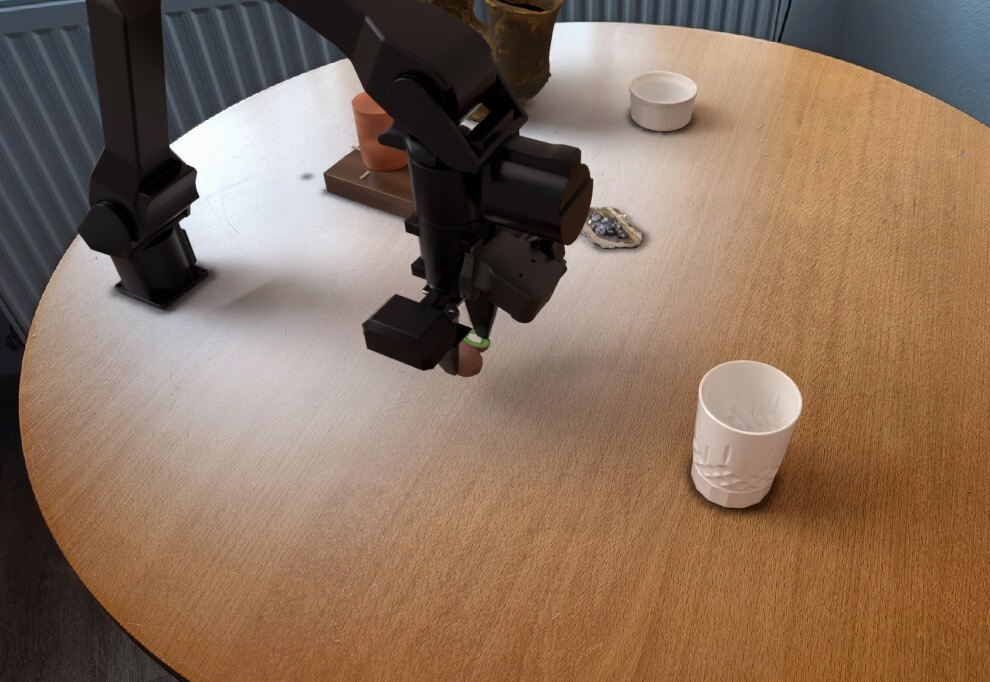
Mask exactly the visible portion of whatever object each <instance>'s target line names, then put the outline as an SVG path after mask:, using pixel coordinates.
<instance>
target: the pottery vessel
mask: <svg viewBox="0 0 990 682" xmlns="http://www.w3.org/2000/svg"><path fill="white" fill-rule="evenodd" d="M418 1H422V2H426V3H430V4H433V5H435V6H436V7H438V8H440V9H442V10H443V11H445V12H447V13H448V14H450V15H452V16H454V17H455V18H457V19H459V20H461V21H462V22H464V23H466V24H467V25H469V26H471V27H472V28H474V29H475V30H476V31H478V32H479V33H480V34H481V35H482V36H483V38H484V39H485V40H486V41H487V43H488V44H489V46H490V47H491V49H492V54H491V55H492V58H493V61H494V62H495V64H496V66H497V67H498V69H499V70H500V72H501V73H502V75H503V77H504V78H505V80H506V81H507V83H508V84H509V86H510V88H511V89H512V91H513V92H514V94H515V95H516V97H517V99H518V100H519V102H520V103H521V105H522V106H523V103H524V102H525V103H528V101H530V100H533V99H534V98H535V97H536V96H537V95H538V94H539V93H540V92H541V90H543V89H544V87H545V85H546V84H547V83H549V80H550V78H551V77H552V73H551V69H550V68H551V62H550V55H551V47H552V41H553V35H554V30H555V25H556V22H557V19H558V16H559V14H560V11H561V10H562V7H563V5H564V3H565V0H483V2H484V5H485V9H486V13H487V18H488V23H487V22H484V21H482V20H481V19H479V18H478V17H477V15H476V14H475V11H474V10H475V9H474V8H475V0H418ZM489 113H490V111H489V110H488V109H487V108H486V107H485V106H484V105H483V104H481V105H480V106H479V107H478V108H477V109H476V110H475V111H474V112H473V113H472V114H470V115H469V116H468V117H467V118H466V119H468V120H473V121H477V122H480V121H481V120H482V119H483V118H484V117H486V116H487V115H488V114H489Z"/></svg>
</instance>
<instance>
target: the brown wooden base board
mask: <svg viewBox="0 0 990 682" xmlns="http://www.w3.org/2000/svg"><path fill="white" fill-rule="evenodd" d="M350 148H351V149H352V150H351V151H350V152H348V153H347V154H346V155H344V156H343V157H342V158H341V159H340V160H338V161H337V162H335V163H334V164H333V165H332V166H330V167H329V168H328V169H326V170H325V171H324V172H323V173H322V175H323V180H324V183H325V189H326V192H327V193H330V194H333V195H336V196H339V197H342V198H345V199H348V200H351V201H354V202H356V203H360V204H363V205H365V206H368V207H371V208H374V209H377V210H381V211H383V212H387V213H389V214H392V215H395V216H398V217H401V218H404V219H407V218H408V217H409V216H410V215H411V214H413V213H414V212H415V210H414V203H413V196H412V189H411V181H410V174H409V167H408V164H407V165H405V166H404V167H402V168H399V169H396V170H392V171H377V170H373V169H370V168H368V167H366V166H365V165H364V163H363V162H362V157H361V151H360V146H359V145H358V146H355V145H352V146H350Z"/></svg>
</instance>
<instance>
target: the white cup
mask: <svg viewBox="0 0 990 682" xmlns="http://www.w3.org/2000/svg"><path fill="white" fill-rule="evenodd" d="M697 395H698V396H697V405H696V412H695V421H694V428H693V439H692V440H693V441H692V455H693V456H692V465H691V473H690V474H691V478H692V481H693V484H694V487H695V489H696V490H697V491H698V492H699V493H700V494H701V495H702V496H703V497H704V498H705V499H706V500H707V501H708V502H711V503H713V504H716V505H718V506H721V507H723V508H726V509H727V508H729V509H745V508H748V507H751V506H754V505H756V504H759V503H760V502H761V501H762V500H763V499H764V498H765V496H766V495H767V494H768V493H769V492H770V490H771V487H772V486H773V482H774V479H775V478H776V477H775V476H776V475H777V473H778V471H779V469H780V467H781V465H782V462H783V459H784V457H785V455H786V453H787V450H788V448H789V445H790V442H791V440H792V438H793V434H794V432H795V430H796V426H797V424H798V421H799V419H800V417H801V413H802V412H803V411H802V410H803V403H804V402H803V396H802V393H801V391H800V388H799V387H798V385H797V384H796V382H795V381H794V380H793V379H792V378H791V377H790V376H788V374H786V373H785V372H783V371H782V370H780V369H778V368H777V367H775V366H772V365H770V364H767V363H764V362H761V361H757V360H748V359H746V360H745V359H740V360H739V359H738V360H730V361H726V362H723V363H720V364H718V365H716V366H714V367H713V368H711V369H710V370H709V371H707V372H706V373H705V375H704V376H703V377H702V379H701V381H700V383H699V387H698V394H697ZM769 487H770V488H769Z"/></svg>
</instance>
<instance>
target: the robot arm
mask: <svg viewBox="0 0 990 682" xmlns="http://www.w3.org/2000/svg"><path fill="white" fill-rule="evenodd" d="M84 1H85V7H86V8H85V9H86V16H87V22H88V23H87V24H88V31H89V38H90V46H91V54H92V60H93V66H94V76H95V82H96V91H97V98H98V106H99V112H100V113H99V114H100V120H101V121H100V122H101V126H102V127H101V128H102V134H103V135H102V136H103V143H104V146H103V148H102V150H101V151H100V154H99V156H98V159H96V162H95V164H94V166H93V168H92V170H91V172H90V175H89V179H88V194H87V195H88V197H87V198H88V205H89V207H90V210H89V211H88V213H87V214H86V216H85V217H84V218H83V220H82V221H81V223H80V225H78V227H77V229H76V231H77V233H78V235H79V236H80V237H81V239H82V240H83V241H84V242H85V245H87V247H88V248H89V249H90V250H91V251H94V252H96V253H100V254H103V255H106V256H109V257H110V259H111V261H112V264H113V265H114V268H115V270H116V272H117V274H118V276H119V279H120V280H119V281H118V282H117V283H115V284H114V289H115V291H116V292H118V293H121V294H123V295H125V296H128V297H130V298H132V299H135V300H138V301H140V302H143V303H145V304H148V305H150V306H152V307H155V308H158V309H159V310H164V309H167V308H168V307H169V306H171V305H172V304H174V302H176V301H177V300H179V299H180V298H181V297H182V296H184V295H186V293H188V292H189V291H190V290H192V289H193V288H194V287H195V286H197V285H198V284H199V283H201V282H202V281H203V280H204V279H206V278H207V277H209V275H210V273H209V270H208V269H207V268H205V267H202V266H200V265H197V263H198V259H197V256H196V254H195V251H194V247H193V246H192V243H191V241H190V238H189V235H188V233H187V230H186V229H185V228H182V227H181V224H180V222H181V221H183V220H184V219H187V218H188V217H190V216H191V215H192V213H191V209H192V208H191V206H192V204H193V203H194V202H196V201H197V200H198V199H200V194H199V191H198V189H197V176H198V169H196V168H195V167H194V166H192V165H189V164H188V163H186V161H184V160H183V159H182V158H181V157H180V156H179V155H178V154H177V153H176V152H175V151H174V150H173V149H172V148H171V145H170V135H169V134H170V133H169V120H168V104H167V103H168V102H167V87H166V86H167V85H166V67H165V53H164V52H165V51H164V37H163V36H164V35H163V34H164V33H163V19H162V17H163V16H162V0H84ZM275 2H277V3H278V4H279V5H281V6H282V7H283V8H284V9H286V10H288V11H289V12H290V13H291V14H293V15H294V16H295V17H296V18H297V19H299V21H301V22H303V23H304V24H305V25H306V26H308V27H309V28H310V29H312V30H313V31H314V32H316V33H317V34H318V35H320V36H321V37H322V38H323V39H325V40H326V41H328V42H329V44H331V45H333V46H334V47H335V48H336V49H337V50H338V51H340V53H341V54H343V56H344V57H346V59H347V60H349V62H351V64H352V67H353V69H354V71H355V74H356V76H357V78H358V80H359V82H360V84H361V87H362V88H363V89H362V90H363V92H366V93H367V94H368V95H369V96H370V97H371V98H372V99H373V100H374V101H375V102H376V103H377V104H378V105H379V106H380V107H381V108H382V109H383V110H384V111H385V112H386V113H387V114H388V115H389V116H390V117H391V118H392V119H393V120H394V121H393V122H392V124H391V125H390V126H389V127H388V128H387V129H386V130H385V131H383V132H382V133H381V134H380V135H379V136H378V137H377V140H378V142H379V144H381V145H383V146H386V147H390V148H394V149H397V150H401V151H404V152H406V153H407V160H408V167H409V174H410V181H411V189H412V196H413V203H414V210H415V212H414V213H413V214H411V215H410V216H409V217H408V218H405V219H404V220H403V225H404V230H405V233H407V234H410V235H413V236H415V237H417V239H418V245H419V246H418V247H419V252H420V255H419V256H418V257H417V258H416V259H415V260H413V262H411V264H410V270H411V275H412V276H413V277H416V278H418V279H419V278H420V279H422V280H425V281H426V284H425V285H424V286H423V287H422V288H421V292H422V294H423V295H425V296H423V298H422V299H421V300H420V301H417V300H415V299H412V298H409V297H407V296H403V295H401V294H399V293H394V294H393V295H392V296H390V297H389V298H387V299H386V300H385V301H383V302H382V304H381V305H380V306H379V307H378V308H377V309H375V311H373V313H372V314H370V315H369V316H368V317H367V318H366V319H365V320H364V321H363V322H362V323H361V328H362V333H363V338H364V342H365V346H366V349H367V350H368V351H371V352H373V353H377V354H379V355H381V356H384V357H387V358H389V359H392V360H393V361H394V360H395V361H397V362H399V363H402V364H405V365H406V366H409V367H412V368H415V369H416V370H419V371H422V372H425V371H431V370H434V369H435V368H436V367H437V366H439V367H440V368H441V369H442V370H443V372H444V373H446V374H449V375H451V376H453V377H456V376H458V375H457V373H458V368H459V344H460V343H461V341H462V340H463V339H464V338H465V337H466V336H467V335H468V334H469V333H470V331H471V330H472V328H474V331H475V333H476V335H477V336H479V337H481V338H483V339H485V340H487V339H488V338H489V339H490V336H491V333H492V329H493V326H494V322H495V320H496V316H497V312H498V310H499V309H500V310H502V311H504V312H505V313H507V314H508V315H509V316H510V318H511V319H513V320H514V321H515V322H517V323H519V324H525V325H526V324H530V323H532V322H533V321H534V320H535V319H536V317H537V316H538V314H539V313H540V312H541V310H543V308H544V307H545V306H546V305H547V304H548V303H549V302H550V301H551V299H552V296H553V295H554V292H555V291H556V288H557V286H558V284H559V283H560V281H561V279H562V278H563V276H565V274H566V273H567V272H568V266H567V262H568V260H566V259H565V256H566V246H567V247H569V246H572V245H573V244H574V243H575V242H576V241H577V239H578V238H579V237H580V235H581V233H582V232H583V230H582V229H583V227H584V224H585V222H586V219H587V216H588V213H589V209H590V207H591V204H592V201H593V200H592V199H593V195H594V178H593V177H592V176H591V170H590V168H589V166H588V165H587V164H586V163H583V162H582V150H581V148H580V147H576V146H573V145H568V144H565V143H551V142H548V141H543V140H540V139H536V138H532V137H528V136H525V135H521V134H520V133H521V132H520V131H521V129H522V128H523V127H524V126H525V125H526V124H527V123H528V122H529V120H530V117H529V114H528V112H527V111H526V110H525V108H524V106H523V104H522V105H521V103H520V102H519V100H518V99H517V97H516V95H515V94H514V92H513V91H512V89H511V88H510V86H509V84H508V83H507V81H506V80H505V78H504V77H503V75H502V73H501V72H500V70H499V69H498V67H497V66H496V64H495V62H494V61H493V58H492V55H491V54H492V49H491V47H490V46H489V44H488V43H487V41H486V40H485V39H484V38H483V36H482V35H481V34H480V33H479V32H478V31H476V30H475V29H474V28H472V27H471V26H469V25H467V24H466V23H464V22H462V21H461V20H459V19H457V18H455V17H454V16H452V15H450V14H448V13H447V12H445V11H443V10H442V9H440V8H438V7H436V6H435V5H433V4H430V3H426V2H422V1H418V0H275ZM481 104H483V105H484V106H485V107H486V108H487V109H488V110H489V111H490V113H489V114H488V115H487V116H486V117H484V118H483V119H482V120H481V121H478V123H477V124H476V125H475V126H474V127H473V128H472V129H471V127H469V126H467V125H465V124H463V123H464V121H465V120H467V119H468V118H467V117H468V116H469V115H470V114H472V113H473V112H474V111H475V110H476V109H477V108H478V107H479V106H480V105H481ZM463 303H464V306H465V308H466V312H467V315H468V317H469V321H470V323H471V326H472V327H471V326H468V325H466V324H463V323H460V317H461V312H460V309H459V307H460V306H462V304H463Z"/></svg>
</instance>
